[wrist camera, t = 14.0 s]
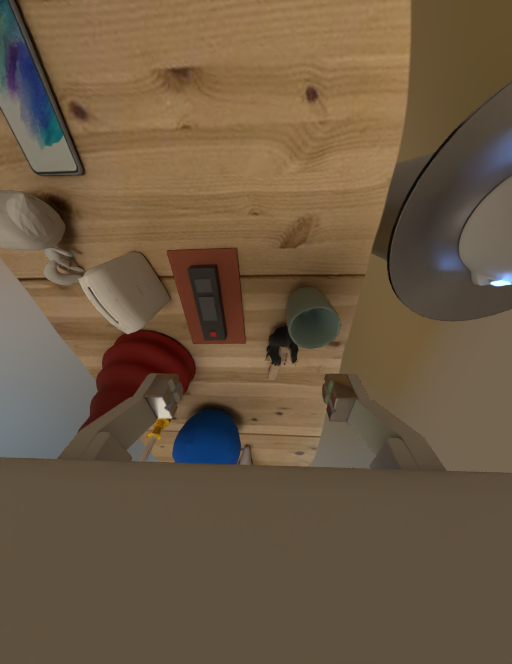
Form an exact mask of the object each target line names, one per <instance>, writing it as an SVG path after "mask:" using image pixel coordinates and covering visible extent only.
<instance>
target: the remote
mask: <svg viewBox="0 0 512 664" xmlns="http://www.w3.org/2000/svg"><path fill="white" fill-rule="evenodd" d="M187 270H188V274H189V278H190V283H191V287H192V291H193V295H194V299H195V304H196V308H197V312H198V316H199V320H200V324H201V329H202V333H203V337H204V340H205V341H212V340H226V338H227V328H226V321H225V315H224V308H223V301H222V295H221V288H220V282H219V275H218V268H217V264H209V265H191V266H190V267H188V268H187Z"/></svg>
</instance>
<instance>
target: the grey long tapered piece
mask: <svg viewBox="0 0 512 664" xmlns="http://www.w3.org/2000/svg"><path fill="white" fill-rule="evenodd" d="M239 465H252V460H251V456H250V448H249V446H246V447H245V448H244V451H243V454H242V457H241V460H240V463H239Z"/></svg>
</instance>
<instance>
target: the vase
mask: <svg viewBox="0 0 512 664" xmlns="http://www.w3.org/2000/svg"><path fill="white" fill-rule="evenodd" d="M240 450H241V443H240V438H239V433H238V428H237V426H236V424H235V422H234V420H233V419H232V418H231V417H230V416H229V415H228V414H227V413H226V412H224V411H222V410H219V409H205V410H203V411H200V412H198V413H197V414H195V415H194V416H193V417H191V418H190V419H189V420H188V421H187V422H186V423H185V425H184V426H183V427H182V429H181V430H180V431H179V433H178V435H177V437H176V439H175V442H174V446H173V452H172V454H173V458H174V461H175V463H203V464H235V465H237V462H238V459H239V455H240Z"/></svg>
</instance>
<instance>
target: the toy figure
mask: <svg viewBox="0 0 512 664" xmlns="http://www.w3.org/2000/svg"><path fill="white" fill-rule="evenodd" d="M274 330H275V331H274ZM274 330H273V334H271V335H270V336H269V337H270V338H268V339H269V340H268V341H270V345H269V346H268V347H267V351H266V352H268V349H269V352H268V353H266V354H267V356H266V359H265V361H269V360H270V358H271V360H272V362H271V365H270V369H269V375H268V379H271V380H276V377H277V374H278V371H279V369H280V367H281V364H282V363H284V365H285V363H286V357H287V353H288V356H289V359H290V360H291V361H292V364H295V365H296V362H297V361H298V360H297V353H298V352H299V350H298V347H297V345H296V344H295V343H294V342H293V341H292V339H291V337H290V335H289V332H288V328H287V325H281V326H277V327H276V329H274ZM296 360H297V361H296Z"/></svg>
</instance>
